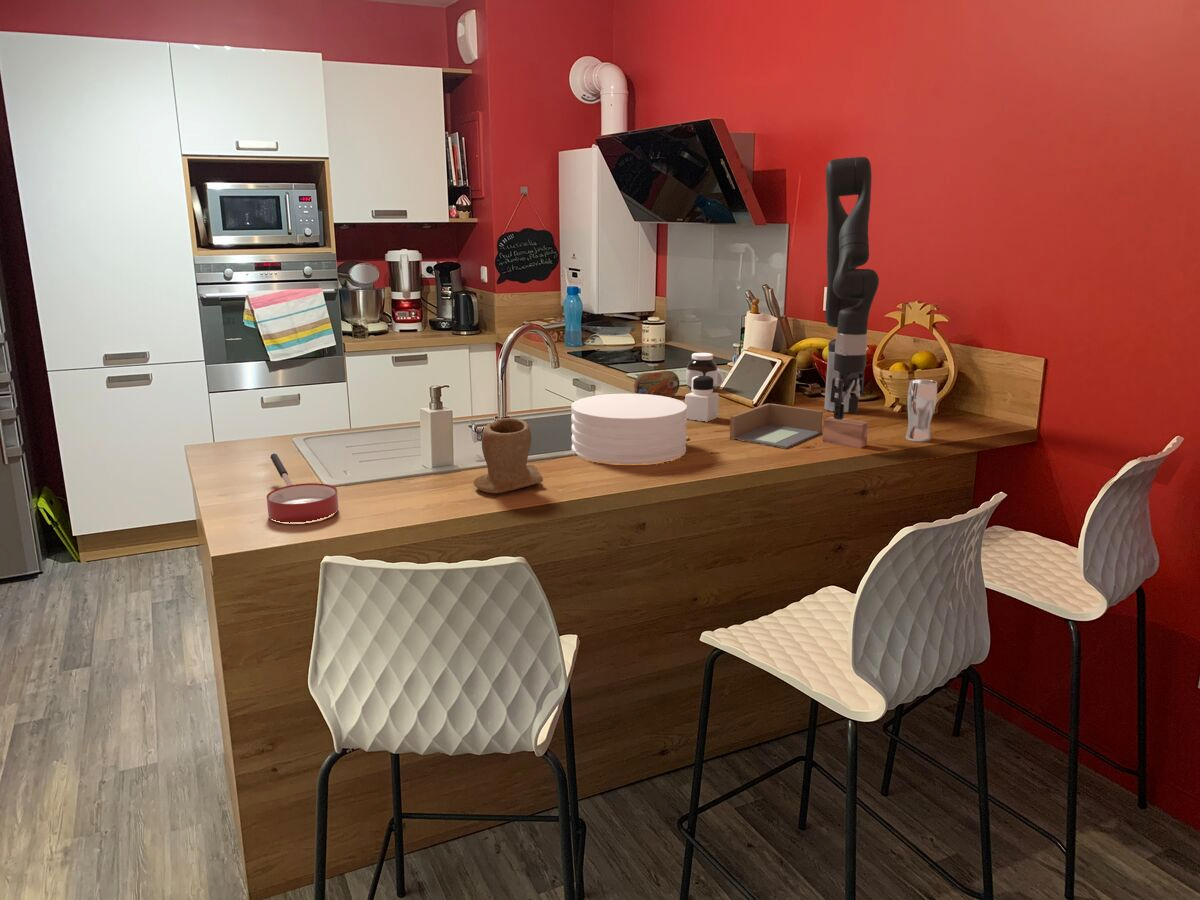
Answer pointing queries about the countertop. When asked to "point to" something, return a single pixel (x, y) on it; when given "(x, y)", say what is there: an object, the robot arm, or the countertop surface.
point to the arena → (776, 425)
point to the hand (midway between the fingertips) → (845, 416)
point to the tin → (657, 383)
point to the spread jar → (703, 369)
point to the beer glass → (920, 408)
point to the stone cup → (507, 457)
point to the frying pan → (300, 499)
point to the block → (845, 432)
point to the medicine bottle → (702, 400)
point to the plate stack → (629, 428)
